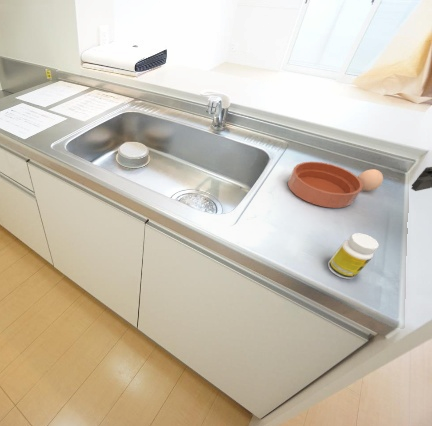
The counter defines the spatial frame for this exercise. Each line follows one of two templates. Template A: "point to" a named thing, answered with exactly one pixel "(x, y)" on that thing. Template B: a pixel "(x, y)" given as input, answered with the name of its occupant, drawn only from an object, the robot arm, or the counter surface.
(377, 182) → the egg
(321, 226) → the counter surface
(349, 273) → the supplement bottle
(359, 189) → the bowl
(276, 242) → the counter surface
